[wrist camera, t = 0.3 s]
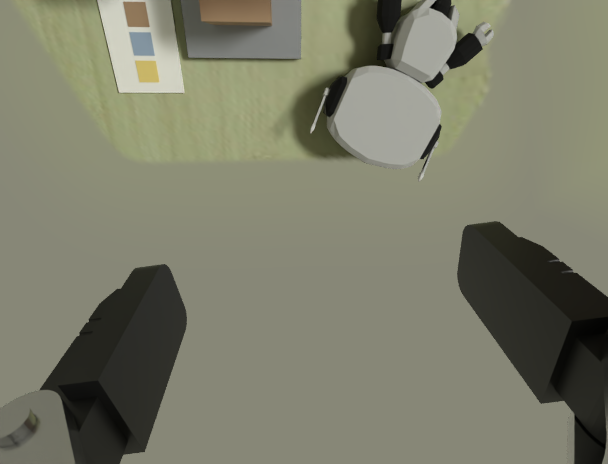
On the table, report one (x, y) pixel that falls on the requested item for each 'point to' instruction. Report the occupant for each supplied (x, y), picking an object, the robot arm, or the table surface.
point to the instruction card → (142, 45)
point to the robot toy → (400, 85)
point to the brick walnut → (236, 12)
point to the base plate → (245, 34)
